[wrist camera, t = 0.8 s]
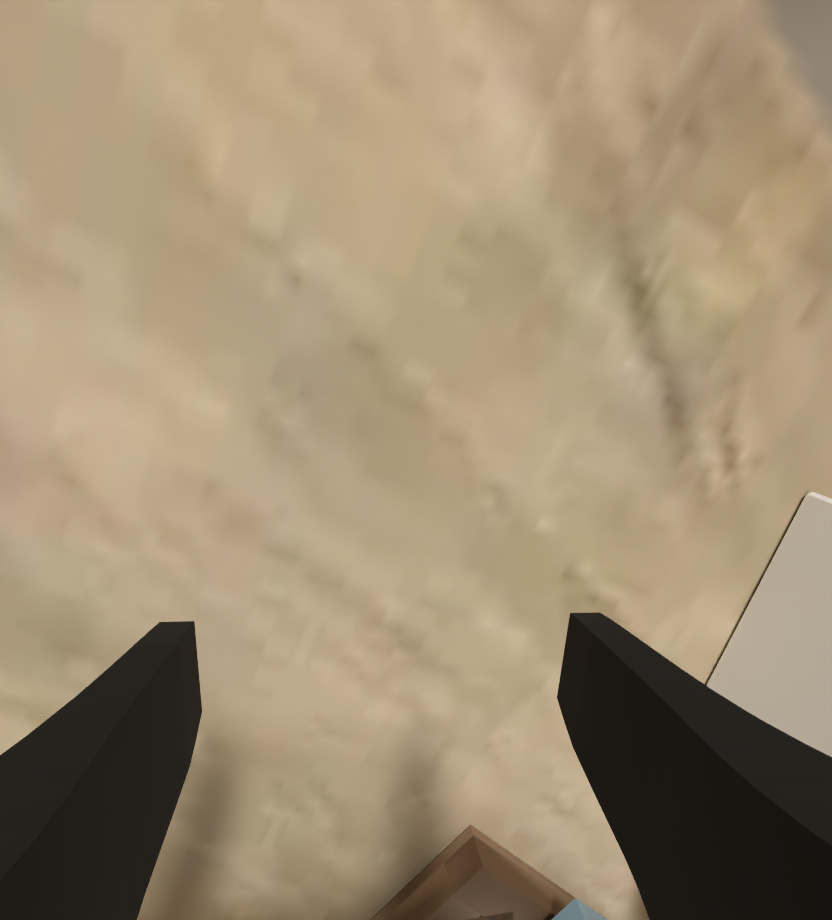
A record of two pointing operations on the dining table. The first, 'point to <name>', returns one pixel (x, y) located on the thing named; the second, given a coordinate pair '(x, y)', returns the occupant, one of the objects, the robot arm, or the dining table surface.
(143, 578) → the dining table surface
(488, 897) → the holder
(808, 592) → the gable box
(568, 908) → the light blue piece
